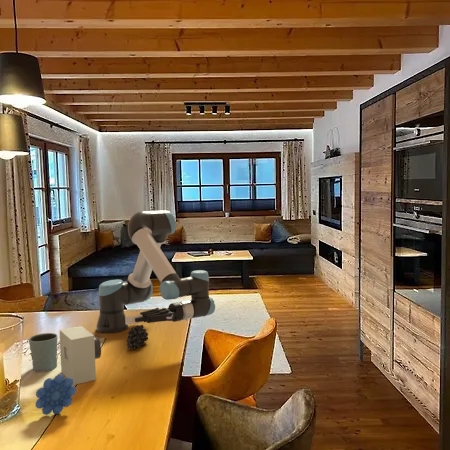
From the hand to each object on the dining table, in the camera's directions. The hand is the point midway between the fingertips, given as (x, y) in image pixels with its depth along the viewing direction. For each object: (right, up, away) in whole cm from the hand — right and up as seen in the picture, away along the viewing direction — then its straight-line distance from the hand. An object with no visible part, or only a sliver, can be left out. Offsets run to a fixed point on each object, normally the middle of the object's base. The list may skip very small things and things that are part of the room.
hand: (126, 320), depth 177 cm
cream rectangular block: (-16, -18, -9) cm, 25 cm away
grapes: (-13, -20, -37) cm, 44 cm away
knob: (-14, -13, -8) cm, 21 cm away
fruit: (-1, -16, +23) cm, 28 cm away
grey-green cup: (-31, -18, 0) cm, 36 cm away
